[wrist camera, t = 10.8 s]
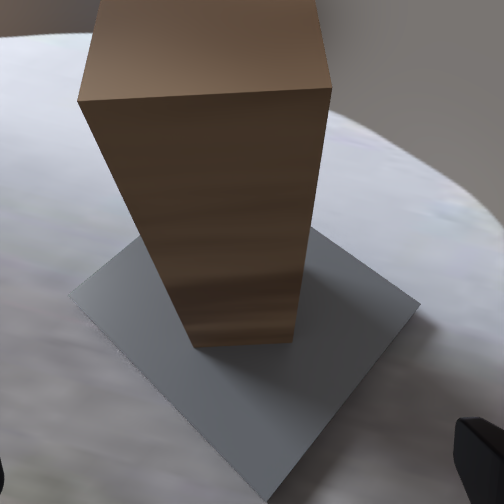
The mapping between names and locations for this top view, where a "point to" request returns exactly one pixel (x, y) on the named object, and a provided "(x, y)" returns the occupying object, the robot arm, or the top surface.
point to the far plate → (254, 355)
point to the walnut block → (215, 150)
